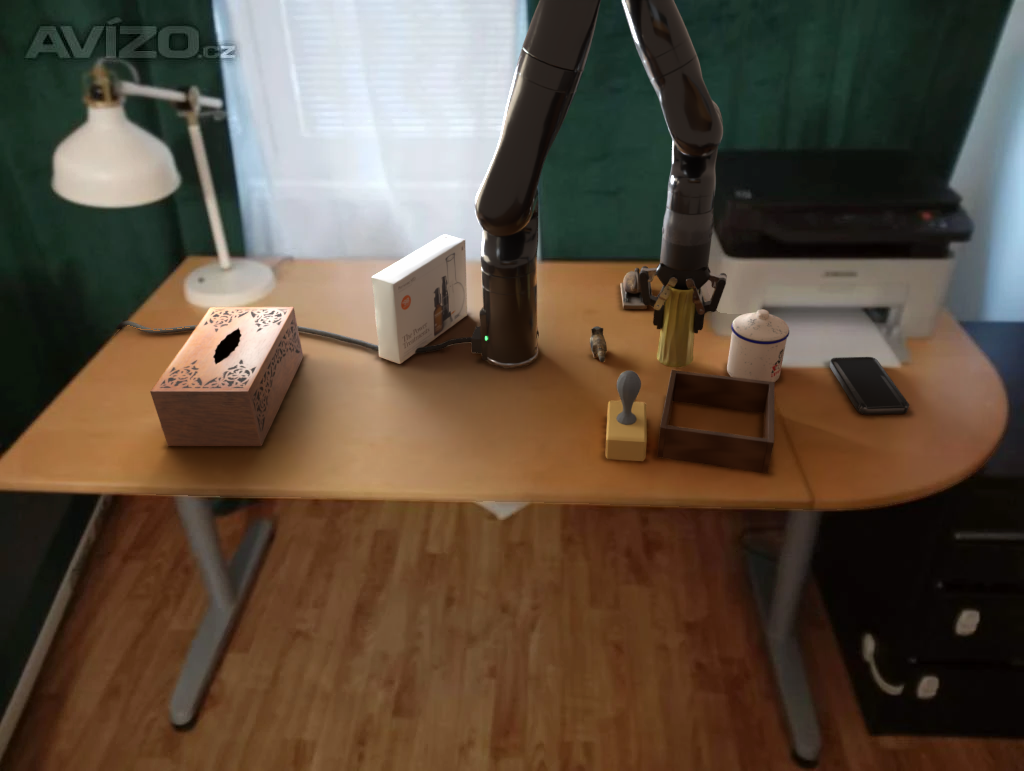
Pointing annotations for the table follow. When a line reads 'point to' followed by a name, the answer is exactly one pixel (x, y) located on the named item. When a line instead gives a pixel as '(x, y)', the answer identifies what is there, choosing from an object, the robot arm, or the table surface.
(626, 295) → the figurine
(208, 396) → the tissue box cover
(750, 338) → the teacup with lid
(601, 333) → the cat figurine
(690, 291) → the vase
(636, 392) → the rubber stamp
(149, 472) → the table surface
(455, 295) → the skincare box
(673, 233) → the robot arm
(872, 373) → the phone
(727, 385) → the crate
